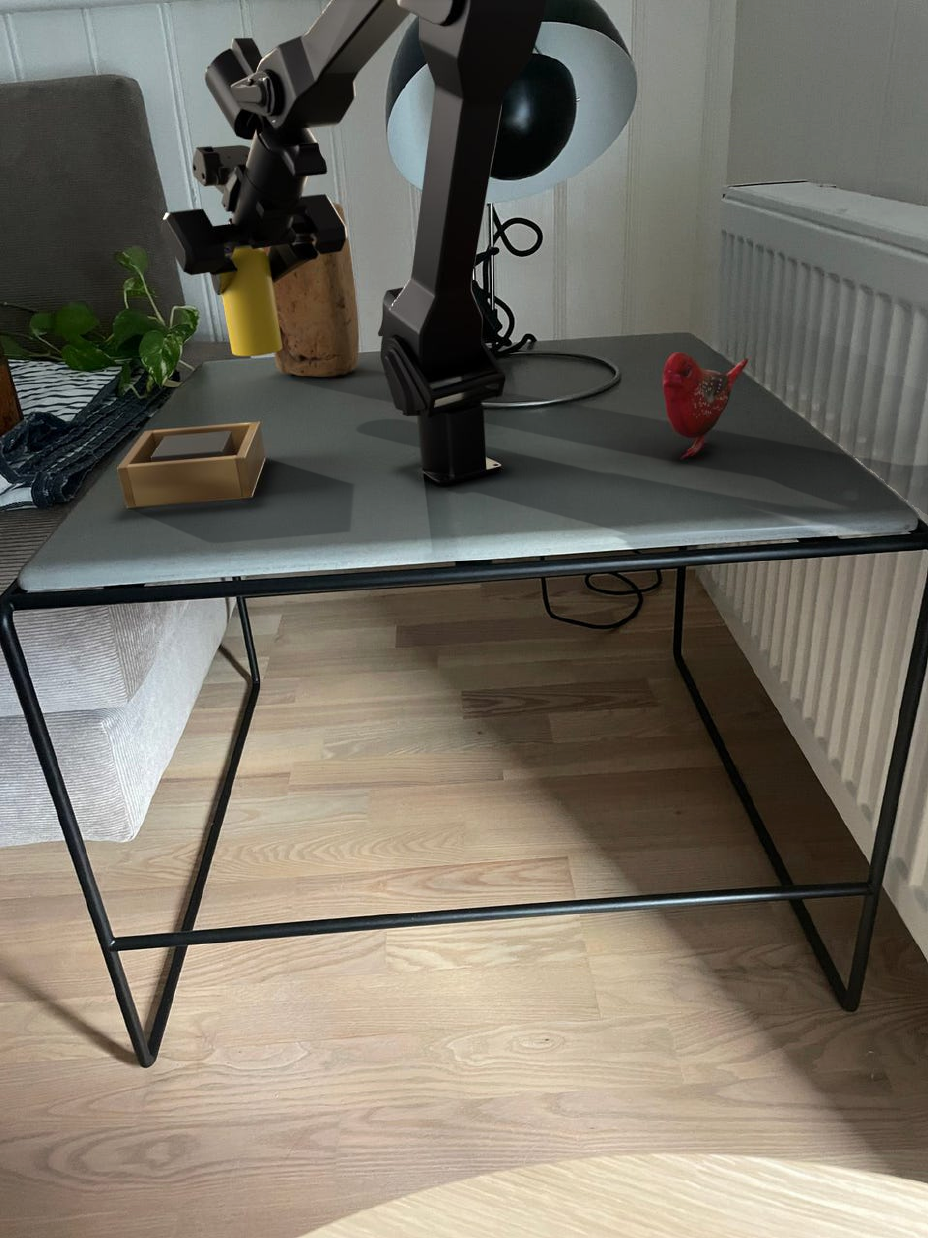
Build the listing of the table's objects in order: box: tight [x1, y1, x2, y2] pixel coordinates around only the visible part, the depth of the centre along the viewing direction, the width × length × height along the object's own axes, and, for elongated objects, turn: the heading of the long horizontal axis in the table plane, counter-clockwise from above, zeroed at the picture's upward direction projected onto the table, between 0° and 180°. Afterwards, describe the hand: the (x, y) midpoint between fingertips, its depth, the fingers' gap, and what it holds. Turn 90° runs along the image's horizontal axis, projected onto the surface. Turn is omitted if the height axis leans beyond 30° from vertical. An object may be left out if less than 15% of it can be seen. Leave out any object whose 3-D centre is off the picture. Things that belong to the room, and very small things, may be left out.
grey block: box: [151, 431, 236, 462], centre depth 84 cm, size 6×6×4 cm
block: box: [263, 202, 360, 378], centre depth 117 cm, size 11×8×20 cm
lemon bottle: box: [221, 247, 282, 357], centre depth 103 cm, size 6×6×13 cm
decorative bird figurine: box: [662, 351, 749, 460], centre depth 84 cm, size 3×18×10 cm, turn 143°
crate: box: [116, 421, 266, 509], centre depth 84 cm, size 11×11×4 cm
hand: (241, 287), depth 104 cm, fingers closed on lemon bottle, 5 cm apart
